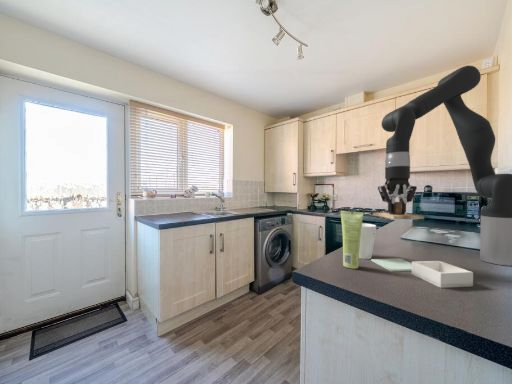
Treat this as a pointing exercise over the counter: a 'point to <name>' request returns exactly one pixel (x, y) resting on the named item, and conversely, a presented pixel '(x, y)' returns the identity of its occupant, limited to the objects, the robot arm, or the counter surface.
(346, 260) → the tube
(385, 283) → the counter surface
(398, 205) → the lid
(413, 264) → the dish
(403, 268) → the mat
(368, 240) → the foam cup
